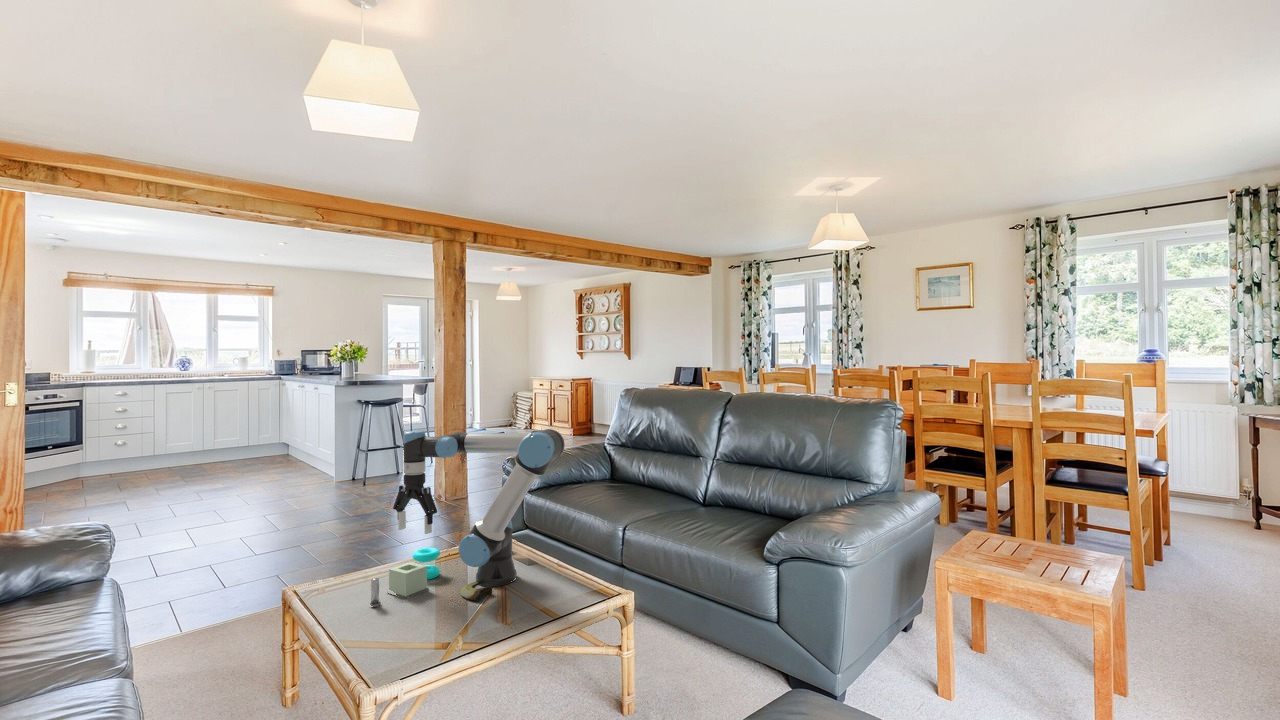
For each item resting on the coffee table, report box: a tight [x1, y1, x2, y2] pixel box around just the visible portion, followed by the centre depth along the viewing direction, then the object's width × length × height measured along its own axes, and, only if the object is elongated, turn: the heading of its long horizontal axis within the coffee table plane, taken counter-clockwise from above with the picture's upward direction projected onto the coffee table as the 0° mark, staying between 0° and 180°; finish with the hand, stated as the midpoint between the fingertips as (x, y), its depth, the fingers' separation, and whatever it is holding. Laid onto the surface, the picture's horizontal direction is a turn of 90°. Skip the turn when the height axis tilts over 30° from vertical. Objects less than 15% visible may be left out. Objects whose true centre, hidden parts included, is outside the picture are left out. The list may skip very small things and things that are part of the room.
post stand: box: [369, 577, 382, 608], centre depth 198 cm, size 4×4×9 cm
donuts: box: [412, 547, 441, 580], centre depth 226 cm, size 10×10×10 cm
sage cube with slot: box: [388, 561, 428, 596], centre depth 210 cm, size 9×9×8 cm
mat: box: [396, 587, 430, 600], centre depth 210 cm, size 10×10×1 cm
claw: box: [460, 581, 493, 602], centre depth 210 cm, size 20×10×3 cm, turn 27°
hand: (414, 531), depth 215 cm, fingers open, 13 cm apart
